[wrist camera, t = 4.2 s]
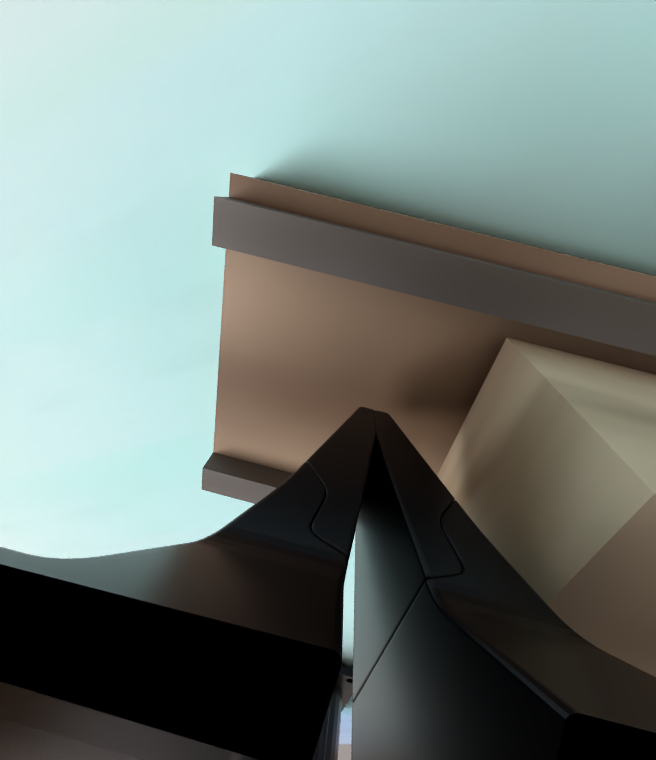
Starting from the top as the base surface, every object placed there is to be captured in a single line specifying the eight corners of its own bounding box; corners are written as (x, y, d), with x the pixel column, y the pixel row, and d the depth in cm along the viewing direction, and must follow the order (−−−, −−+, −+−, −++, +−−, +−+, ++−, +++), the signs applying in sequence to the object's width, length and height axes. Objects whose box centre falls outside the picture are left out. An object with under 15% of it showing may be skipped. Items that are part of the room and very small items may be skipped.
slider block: (603, 553, 11) (754, 791, 6) (421, 505, 11) (448, 706, 7) (755, 399, 8) (1213, 638, 4) (506, 337, 8) (654, 492, 4)
